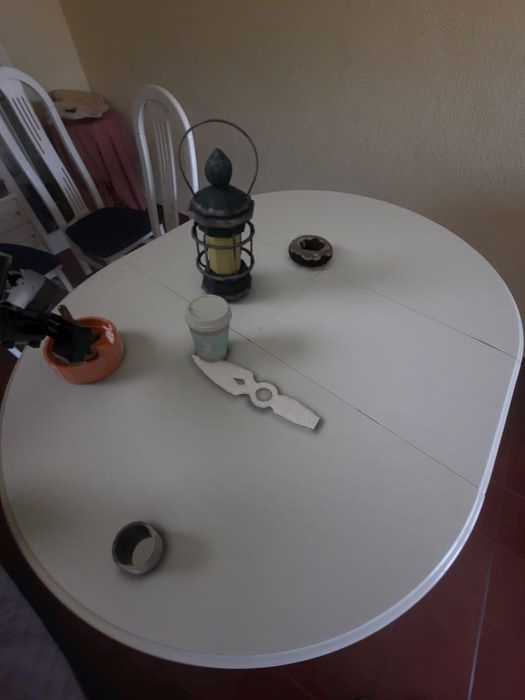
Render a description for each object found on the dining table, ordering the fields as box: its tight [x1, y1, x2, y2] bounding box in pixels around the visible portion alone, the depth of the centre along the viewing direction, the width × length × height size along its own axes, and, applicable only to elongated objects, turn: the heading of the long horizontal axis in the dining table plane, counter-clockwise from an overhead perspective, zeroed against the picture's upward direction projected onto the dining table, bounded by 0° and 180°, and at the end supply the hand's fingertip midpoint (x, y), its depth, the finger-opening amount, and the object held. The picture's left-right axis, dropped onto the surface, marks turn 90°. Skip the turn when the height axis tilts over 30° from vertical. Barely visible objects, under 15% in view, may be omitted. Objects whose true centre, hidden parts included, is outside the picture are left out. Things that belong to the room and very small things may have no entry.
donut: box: [287, 234, 334, 269], centre depth 89 cm, size 12×12×4 cm
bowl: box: [42, 315, 125, 385], centre depth 66 cm, size 13×13×5 cm
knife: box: [191, 354, 321, 430], centre depth 64 cm, size 6×28×1 cm, turn 58°
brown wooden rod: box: [57, 303, 99, 362], centre depth 62 cm, size 3×3×13 cm
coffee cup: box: [183, 294, 233, 363], centre depth 65 cm, size 8×8×12 cm
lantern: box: [177, 118, 259, 301], centre depth 68 cm, size 14×13×35 cm
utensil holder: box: [111, 520, 164, 575], centre depth 45 cm, size 5×5×4 cm
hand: (81, 327), depth 63 cm, fingers open, 8 cm apart
